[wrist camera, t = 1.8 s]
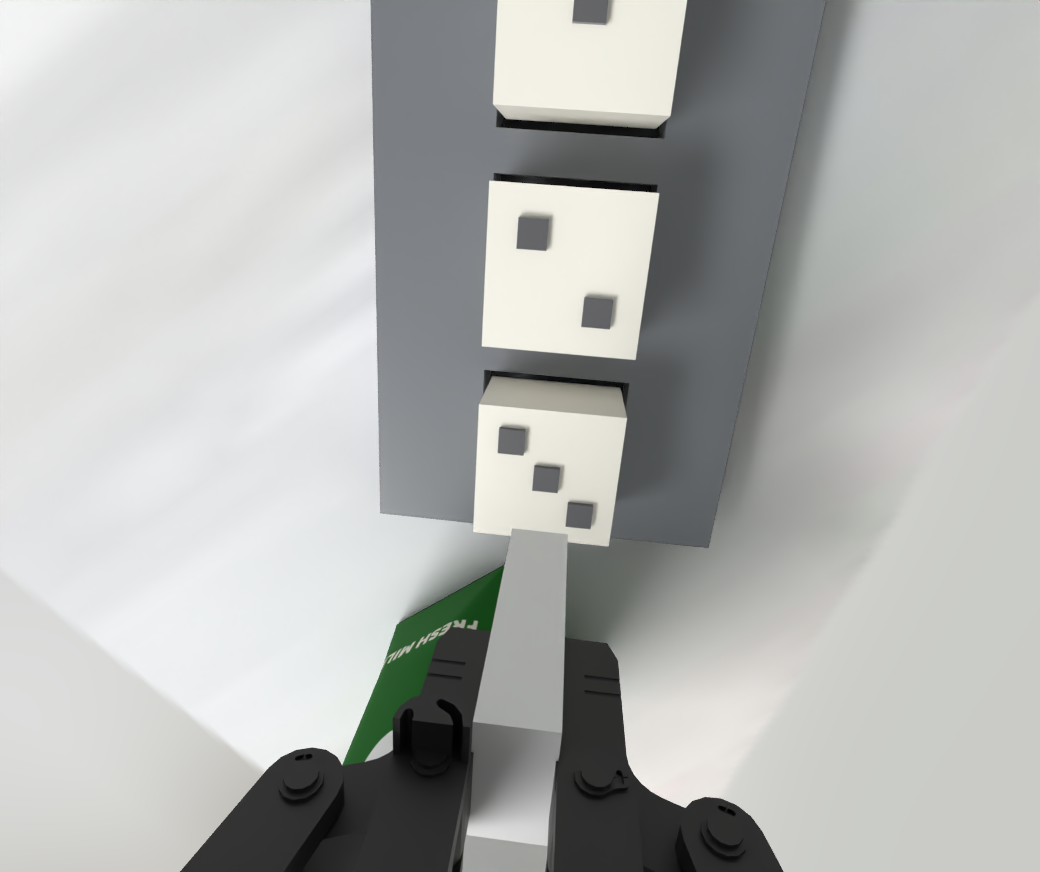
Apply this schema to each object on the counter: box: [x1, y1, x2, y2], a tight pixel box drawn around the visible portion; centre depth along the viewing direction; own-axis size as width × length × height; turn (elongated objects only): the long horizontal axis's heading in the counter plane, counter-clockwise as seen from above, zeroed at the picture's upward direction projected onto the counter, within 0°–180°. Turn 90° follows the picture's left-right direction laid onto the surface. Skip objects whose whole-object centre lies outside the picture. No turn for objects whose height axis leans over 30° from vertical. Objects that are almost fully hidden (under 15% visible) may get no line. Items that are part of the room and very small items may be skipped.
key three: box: [473, 376, 627, 547], centre depth 23 cm, size 5×5×4 cm
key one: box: [493, 0, 687, 129], centre depth 18 cm, size 5×5×4 cm
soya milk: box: [343, 565, 567, 872], centre depth 22 cm, size 9×9×20 cm
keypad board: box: [371, 0, 826, 548], centre depth 23 cm, size 22×14×2 cm, turn 176°
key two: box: [482, 181, 659, 360], centre depth 20 cm, size 5×5×4 cm
